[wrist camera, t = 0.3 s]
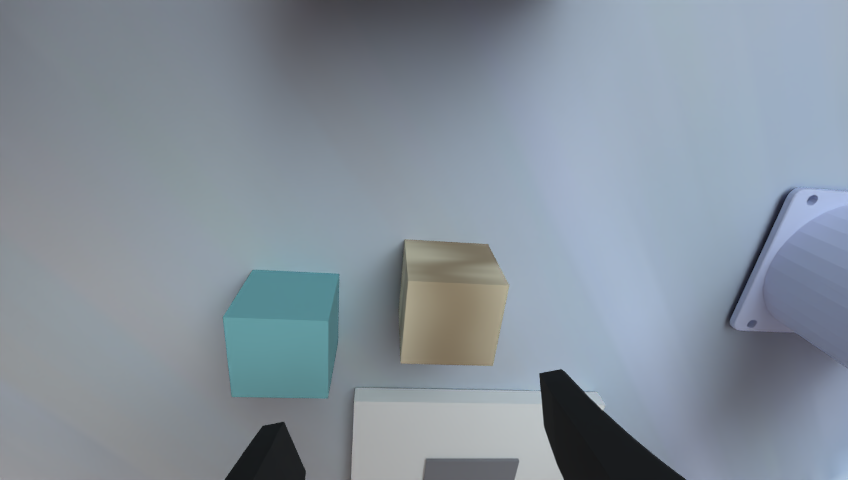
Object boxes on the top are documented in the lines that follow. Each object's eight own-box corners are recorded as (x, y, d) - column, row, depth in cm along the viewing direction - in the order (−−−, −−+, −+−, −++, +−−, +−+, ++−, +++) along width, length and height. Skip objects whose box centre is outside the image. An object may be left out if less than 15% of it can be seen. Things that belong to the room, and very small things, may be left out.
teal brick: (339, 272, 20) (328, 321, 17) (338, 340, 22) (327, 398, 18) (253, 269, 20) (222, 317, 16) (258, 338, 21) (231, 397, 18)
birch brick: (487, 243, 20) (509, 285, 17) (475, 313, 22) (492, 365, 18) (404, 238, 20) (408, 280, 16) (398, 310, 21) (400, 363, 18)
